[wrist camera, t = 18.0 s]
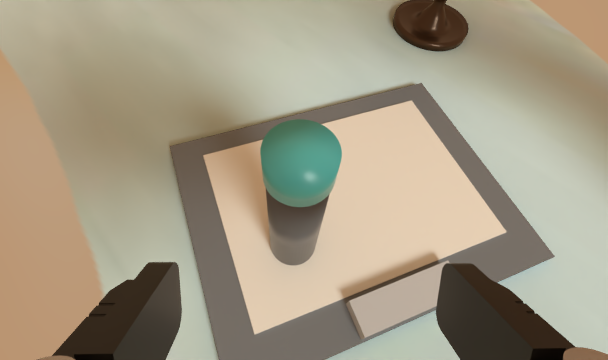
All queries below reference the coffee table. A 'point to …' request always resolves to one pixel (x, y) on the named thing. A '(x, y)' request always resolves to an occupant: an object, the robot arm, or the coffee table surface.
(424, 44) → the candlestick
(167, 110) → the coffee table surface
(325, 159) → the marker
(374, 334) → the clipboard
